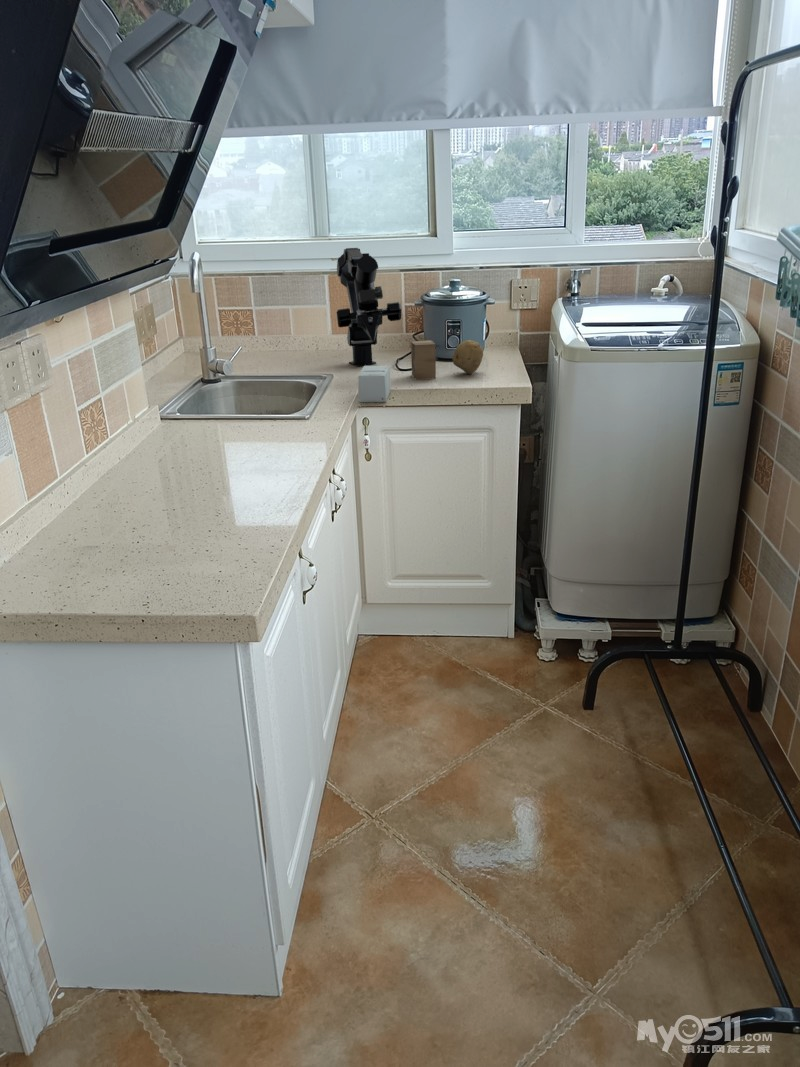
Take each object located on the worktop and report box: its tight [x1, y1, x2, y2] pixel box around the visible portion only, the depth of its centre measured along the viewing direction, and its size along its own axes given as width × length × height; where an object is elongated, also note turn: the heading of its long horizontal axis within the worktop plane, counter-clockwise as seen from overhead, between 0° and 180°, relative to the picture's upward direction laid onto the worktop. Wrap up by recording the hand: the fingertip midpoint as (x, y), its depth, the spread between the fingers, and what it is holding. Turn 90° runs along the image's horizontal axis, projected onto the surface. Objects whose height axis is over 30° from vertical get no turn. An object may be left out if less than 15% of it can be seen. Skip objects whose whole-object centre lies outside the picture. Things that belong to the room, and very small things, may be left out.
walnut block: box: [410, 339, 437, 381], centre depth 246 cm, size 6×6×10 cm
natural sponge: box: [452, 339, 484, 375], centre depth 248 cm, size 9×9×10 cm
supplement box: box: [357, 365, 391, 403], centre depth 225 cm, size 7×7×13 cm
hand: (373, 340), depth 241 cm, fingers closed
